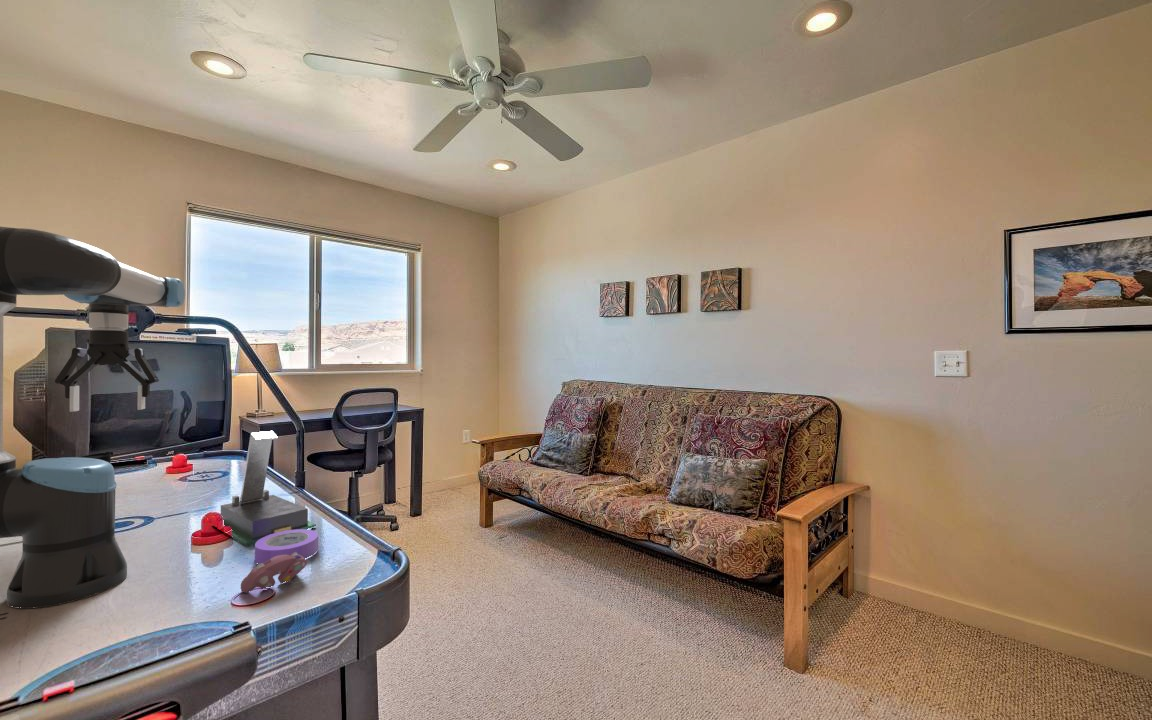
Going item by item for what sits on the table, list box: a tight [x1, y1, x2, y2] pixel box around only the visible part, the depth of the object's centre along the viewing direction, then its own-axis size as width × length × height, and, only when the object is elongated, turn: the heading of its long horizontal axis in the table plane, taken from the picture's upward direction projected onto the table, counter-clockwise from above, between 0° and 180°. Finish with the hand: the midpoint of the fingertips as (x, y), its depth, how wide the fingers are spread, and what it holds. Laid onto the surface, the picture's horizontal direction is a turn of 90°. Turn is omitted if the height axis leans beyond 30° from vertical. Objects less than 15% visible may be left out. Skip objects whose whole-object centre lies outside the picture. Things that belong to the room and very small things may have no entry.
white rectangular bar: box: [239, 430, 279, 503], centre depth 123 cm, size 20×5×4 cm
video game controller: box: [240, 552, 308, 593], centre depth 90 cm, size 10×5×7 cm, turn 148°
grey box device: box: [220, 489, 317, 547], centre depth 121 cm, size 22×15×7 cm
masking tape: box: [254, 529, 319, 564], centre depth 104 cm, size 12×12×4 cm
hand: (108, 410), depth 128 cm, fingers open, 13 cm apart
